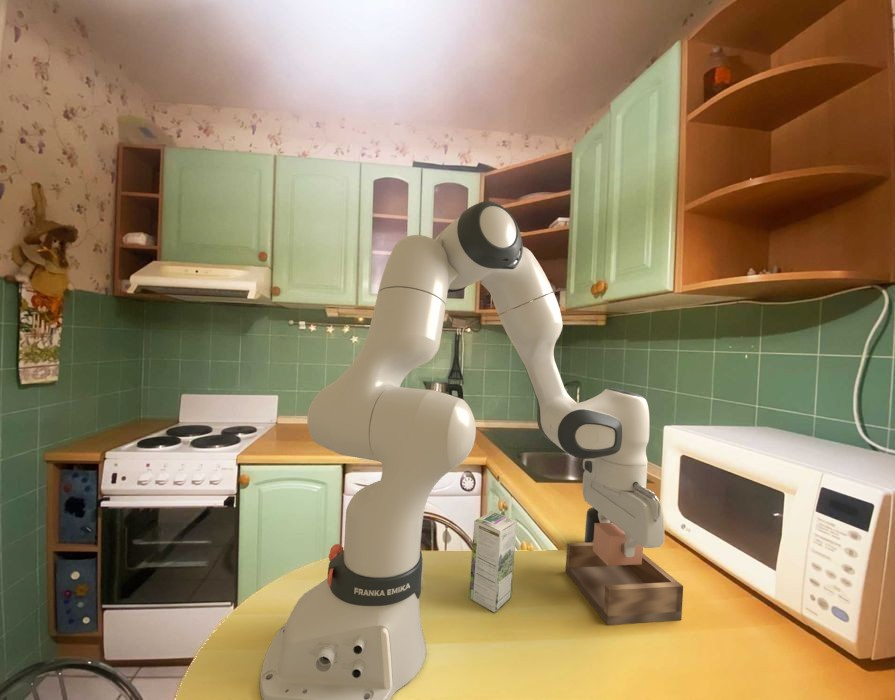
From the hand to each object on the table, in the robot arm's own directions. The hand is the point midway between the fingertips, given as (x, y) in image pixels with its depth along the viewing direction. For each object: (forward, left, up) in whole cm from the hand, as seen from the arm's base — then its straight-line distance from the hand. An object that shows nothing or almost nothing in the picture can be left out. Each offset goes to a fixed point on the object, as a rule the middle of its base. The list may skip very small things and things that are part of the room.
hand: (616, 545), depth 72 cm
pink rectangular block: (0, 0, -2) cm, 2 cm away
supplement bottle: (+5, +14, -9) cm, 18 cm away
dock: (0, -1, -9) cm, 9 cm away
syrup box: (-25, 0, -9) cm, 26 cm away
